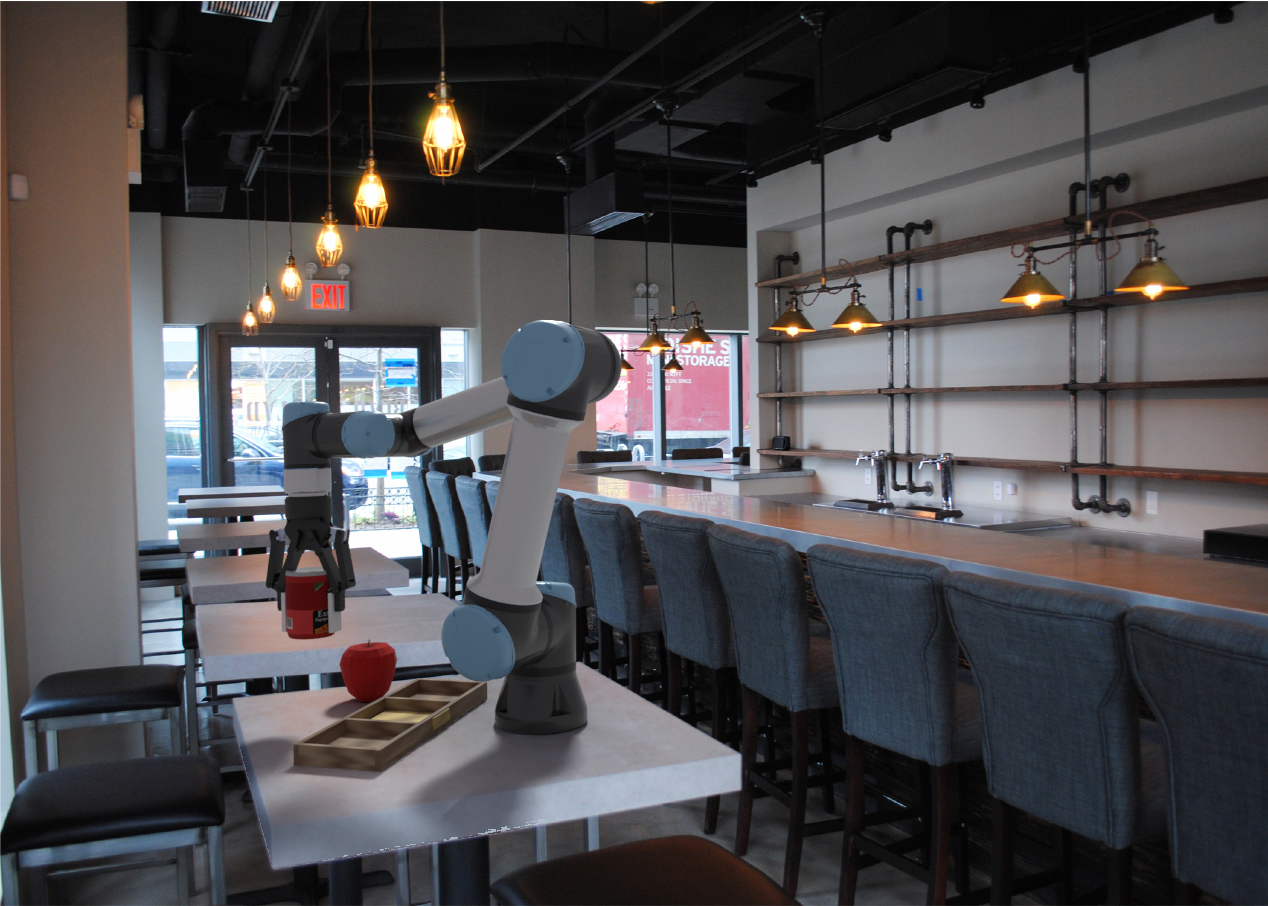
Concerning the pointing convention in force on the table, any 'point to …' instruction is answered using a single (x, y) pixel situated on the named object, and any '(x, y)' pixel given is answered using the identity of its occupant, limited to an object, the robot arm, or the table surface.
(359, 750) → the caddy
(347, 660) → the apple
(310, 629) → the canned food
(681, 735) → the table surface
